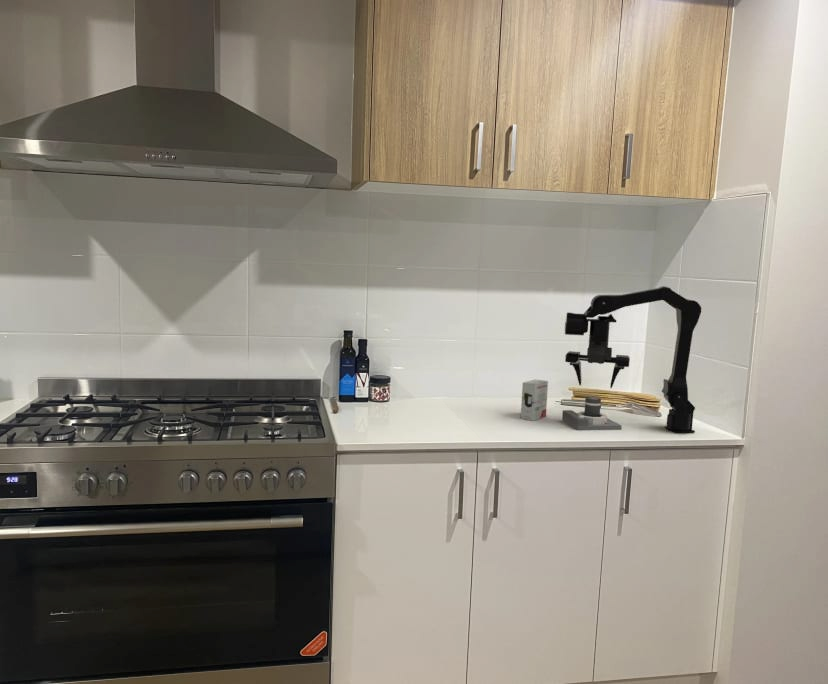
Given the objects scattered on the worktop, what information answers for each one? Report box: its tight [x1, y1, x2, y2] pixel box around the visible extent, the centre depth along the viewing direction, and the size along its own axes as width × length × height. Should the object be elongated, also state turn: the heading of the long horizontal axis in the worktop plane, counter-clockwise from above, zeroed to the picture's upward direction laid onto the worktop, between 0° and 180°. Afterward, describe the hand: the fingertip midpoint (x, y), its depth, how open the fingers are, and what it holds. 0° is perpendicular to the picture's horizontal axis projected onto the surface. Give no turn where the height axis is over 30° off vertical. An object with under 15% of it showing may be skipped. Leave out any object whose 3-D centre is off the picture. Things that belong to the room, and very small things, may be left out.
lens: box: [583, 396, 602, 417], centre depth 206 cm, size 5×5×7 cm
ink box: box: [520, 378, 549, 422], centre depth 213 cm, size 9×5×12 cm, turn 141°
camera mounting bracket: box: [561, 409, 623, 431], centre depth 206 cm, size 14×12×4 cm
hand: (595, 386), depth 206 cm, fingers open, 9 cm apart
